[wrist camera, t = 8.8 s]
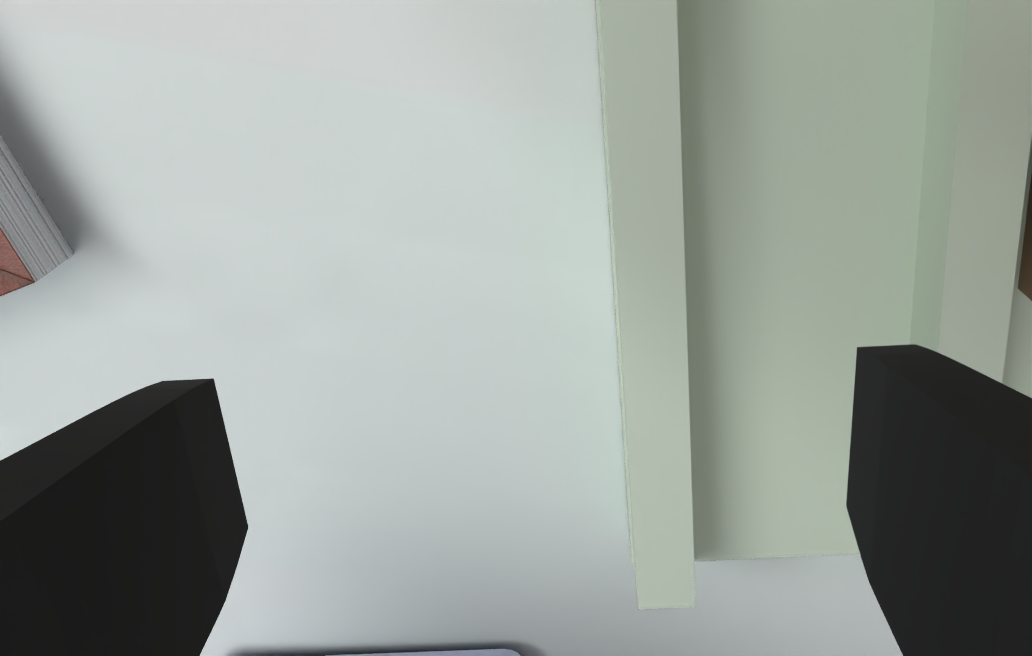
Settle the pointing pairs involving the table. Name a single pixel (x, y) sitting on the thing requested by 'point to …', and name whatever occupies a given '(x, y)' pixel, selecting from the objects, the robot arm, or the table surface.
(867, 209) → the green slotted rack
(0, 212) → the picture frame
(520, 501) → the table surface
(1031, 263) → the frame
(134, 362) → the table surface
